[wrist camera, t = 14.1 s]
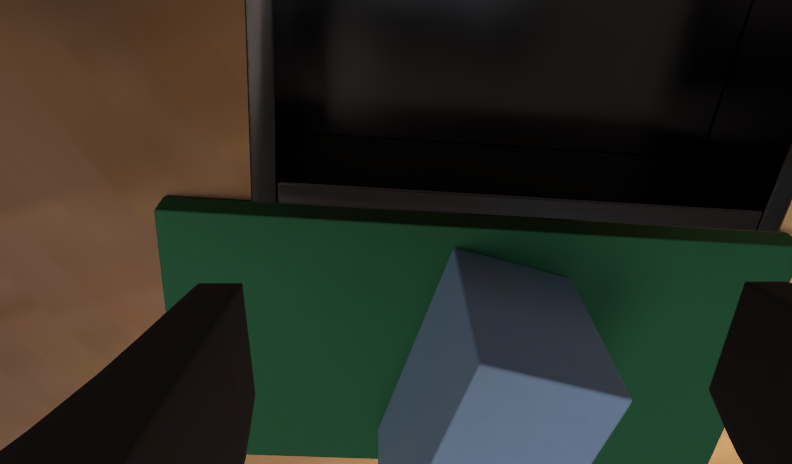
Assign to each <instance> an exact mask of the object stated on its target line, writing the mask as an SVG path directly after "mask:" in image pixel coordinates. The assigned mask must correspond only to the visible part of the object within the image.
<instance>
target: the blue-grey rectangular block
mask: <svg viewBox="0 0 792 464" xmlns="http://www.w3.org/2000/svg"><path fill="white" fill-rule="evenodd" d="M631 403H632V398H631V396H630V394H629V392H628V390H627V388H626V386H625V385H624V383H623V381H622V379H621V377H620V375H619V373H618V371H617V369H616V367H615V365H614V363H613V361H612V359H611V357H610V355H609V353H608V351H607V349H606V347H605V345H604V343H603V341H602V339H601V337H600V335H599V333H598V331H597V329H596V327H595V325H594V323H593V322H592V320H591V318H590V316H589V314H588V312H587V310H586V308H585V306H584V304H583V302H582V300H581V298H580V296H579V294H578V292H577V290H576V288H575V286H574V284H573V282H572V280H571V279H570V278H567V277H564V276H560V275H556V274H552V273H549V272H545V271H541V270H537V269H534V268H530V267H526V266H522V265H519V264H515V263H511V262H507V261H504V260H500V259H496V258H493V257H489V256H485V255H481V254H478V253H474V252H470V251H466V250H463V249H459V248H454V249H453V250H452V253H451V255H450V258H449V260H448V262H447V265H446V267H445V270H444V272H443V274H442V277H441V279H440V282H439V284H438V286H437V289H436V291H435V294H434V296H433V298H432V301H431V303H430V306H429V308H428V310H427V313H426V315H425V318H424V320H423V322H422V325H421V327H420V330H419V332H418V334H417V337H416V339H415V342H414V344H413V347H412V349H411V351H410V354H409V356H408V359H407V361H406V363H405V366H404V368H403V371H402V373H401V375H400V378H399V380H398V383H397V385H396V387H395V390H394V392H393V395H392V397H391V399H390V402H389V404H388V407H387V409H386V411H385V414H384V416H383V419H382V421H381V423H380V426H379V428H378V464H592V462H593V461H594V459H595V458H596V456H597V455H598V453H599V452H600V450H601V449H602V447H603V446H604V444H605V443H606V441H607V440H608V438H609V437H610V435H611V433H612V432H613V430H614V429H615V427H616V426H617V424H618V423H619V421H620V420H621V418H622V417H623V415H624V414H625V412H626V411H627V409H628V408H629V406H630V404H631Z"/></svg>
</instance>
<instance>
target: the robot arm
mask: <svg viewBox="0 0 792 464" xmlns="http://www.w3.org/2000/svg"><path fill="white" fill-rule="evenodd" d="M709 392H710V394H711V396H712V399H713V401H714V404H715V406H716V408H717V411H718V413H719V415H720V418H721V420H722V423H723V425H724V427H725V429H726V431H727V433H728V435H729V438H730V440H731V442H732V444H733V446H734V448H735V450H736V452H737V454H738V456H739V457H740V459H741V461H742V463H743V464H792V283H789V282H786V281H779V282H745V283H744V286H743V289H742V292H741V295H740V298H739V301H738V304H737V307H736V310H735V313H734V316H733V319H732V322H731V325H730V328H729V331H728V334H727V337H726V340H725V343H724V346H723V349H722V351H721V354H720V357H719V360H718V363H717V366H716V369H715V372H714V375H713V378H712V381H711V384H710V387H709ZM254 401H255V386H254V377H253V369H252V361H251V352H250V344H249V335H248V327H247V319H246V310H245V302H244V293H243V285H242V283H198V284H197V285H196V286H195V287H194V288H193V289H191V290H190V291H189V292H188V293H187V294H186V295H185V296H184V297H182V298H181V299H180V300H179V301H178V302H177V303H176V304H175V305H174V306H173V307H172V308H171V309H169V310H168V311H167V312H166V313H165V314H164V315H163V316H162V317H161V318H160V319H159V320H158V321H156V322H155V323H154V324H153V325H152V326H151V327H150V328H149V329H148V330H147V331H146V332H144V333H143V334H142V335H141V336H140V337H139V338H138V339H137V340H136V341H135V342H133V343H132V344H131V345H130V346H129V347H128V348H127V349H126V350H124V351H123V352H122V353H121V354H120V355H119V356H118V357H117V358H115V359H114V360H113V361H112V362H111V363H110V364H109V365H107V366H106V367H105V368H104V369H103V370H102V371H101V372H99V373H98V374H97V375H96V376H95V377H93V378H92V379H91V380H90V381H89V382H87V383H86V384H85V385H84V386H82V387H81V388H80V389H79V390H77V391H76V392H75V393H74V394H72V395H71V396H70V397H69V398H67V399H66V400H65V401H64V402H63V403H61V404H60V405H59V406H58V407H56V408H55V409H54V410H53V411H51V412H50V413H49V414H48V415H46V416H45V417H44V418H43V419H41V420H40V421H39V422H38V423H37V424H35V425H34V426H33V427H32V428H30V429H29V430H28V431H26V432H25V433H24V434H22V435H21V436H20V437H18V438H17V439H16V440H14V441H13V442H12V443H10V444H9V445H8V446H6V447H5V448H4V449H2V450H1V451H0V464H244V462H245V458H246V452H247V446H248V440H249V434H250V428H251V421H252V414H253V407H254Z"/></svg>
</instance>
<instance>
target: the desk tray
mask: <svg viewBox="0 0 792 464" xmlns="http://www.w3.org/2000/svg"><path fill="white" fill-rule="evenodd" d="M245 21H246V51H247V82H248V112H249V143H250V173H251V200H252V202H259V203H276V202H278V203H281V204H298V205H315V206H332V207H349V208H366V209H383V210H400V211H417V212H434V213H451V214H468V215H485V216H502V217H520V218H537V219H554V220H571V221H588V222H605V223H622V224H639V225H656V226H673V227H690V228H707V229H724V230H741V231H755V230H756V231H758V232H774V233H777V232H778V231H779V230H780V227H781V225H782V222H783V220H784V218H785V215H786V213H787V211H788V208H789V206H790V203H791V201H792V0H245Z"/></svg>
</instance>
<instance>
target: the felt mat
mask: <svg viewBox="0 0 792 464" xmlns="http://www.w3.org/2000/svg"><path fill="white" fill-rule="evenodd" d="M154 212H155V221H156V230H157V238H158V247H159V256H160V264H161V273H162V282H163V291H164V299H165V308H166V312H167V311H168V310H169V309H171V308H172V307H173V306H174V305H175V304H176V303H177V302H178V301H179V300H180V299H181V298H182V297H184V296H185V295H186V294H187V293H188V292H189V291H190V290H191V289H193V288H194V287H195V286H196V285H197V284H198V283H242V285H243V293H244V302H245V310H246V319H247V327H248V335H249V344H250V352H251V361H252V369H253V377H254V386H255V401H254V407H253V414H252V421H251V428H250V434H249V440H248V446H247V452H246V454H252V455H282V456H311V457H341V458H371V459H378V428H379V426H380V423H381V421H382V419H383V416H384V414H385V411H386V409H387V407H388V404H389V402H390V399H391V397H392V395H393V392H394V390H395V387H396V385H397V383H398V380H399V378H400V375H401V373H402V371H403V368H404V366H405V363H406V361H407V359H408V356H409V354H410V351H411V349H412V347H413V344H414V342H415V339H416V337H417V334H418V332H419V330H420V327H421V325H422V322H423V320H424V318H425V315H426V313H427V310H428V308H429V306H430V303H431V301H432V298H433V296H434V294H435V291H436V289H437V286H438V284H439V282H440V279H441V277H442V274H443V272H444V270H445V267H446V265H447V262H448V260H449V258H450V255H451V253H452V250H453V249H454V248H459V249H463V250H466V251H470V252H474V253H478V254H481V255H485V256H489V257H493V258H496V259H500V260H504V261H507V262H511V263H515V264H519V265H522V266H526V267H530V268H534V269H537V270H541V271H545V272H549V273H552V274H556V275H560V276H564V277H567V278H570V279H571V280H572V282H573V284H574V286H575V288H576V290H577V292H578V294H579V296H580V298H581V300H582V302H583V304H584V306H585V308H586V310H587V312H588V314H589V316H590V318H591V320H592V322H593V323H594V325H595V327H596V329H597V331H598V333H599V335H600V337H601V339H602V341H603V343H604V345H605V347H606V349H607V351H608V353H609V355H610V357H611V359H612V361H613V363H614V365H615V367H616V369H617V371H618V373H619V375H620V377H621V379H622V381H623V383H624V385H625V386H626V388H627V390H628V392H629V394H630V396H631V398H632V403H631V404H630V406H629V408H628V409H627V411H626V412H625V414H624V415H623V417H622V418H621V420H620V421H619V423H618V424H617V426H616V427H615V429H614V430H613V432H612V433H611V435H610V437H609V438H608V440H607V441H606V443H605V444H604V446H603V447H602V449H601V450H600V452H599V453H598V455H597V456H596V458H595V459H594V461H593V462H592V464H708V463H709V460H710V458H711V456H712V454H713V451H714V449H715V447H716V445H717V443H718V440H719V438H720V436H721V434H722V431H723V429H724V425H723V423H722V420H721V418H720V415H719V413H718V411H717V408H716V406H715V404H714V401H713V399H712V396H711V394H710V392H709V387H710V384H711V381H712V378H713V375H714V372H715V369H716V366H717V363H718V360H719V357H720V354H721V351H722V349H723V346H724V343H725V340H726V337H727V334H728V331H729V328H730V325H731V322H732V319H733V316H734V313H735V310H736V307H737V304H738V301H739V298H740V295H741V292H742V289H743V286H744V283H745V282H779V281H786V282H790V280H791V278H792V236H790V235H789V234H788V233H779V232H777V233H774V232H758V231H741V230H724V229H707V228H690V227H673V226H656V225H639V224H622V223H605V222H588V221H571V220H554V219H537V218H520V217H502V216H485V215H468V214H451V213H434V212H417V211H400V210H383V209H366V208H349V207H332V206H315V205H298V204H281V203H259V202H252V201H235V200H218V199H201V198H184V197H167V196H165V197H163V199H162V200H161V201H160V203H159V204H158V206H157V207H156V209H155V210H154Z"/></svg>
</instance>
